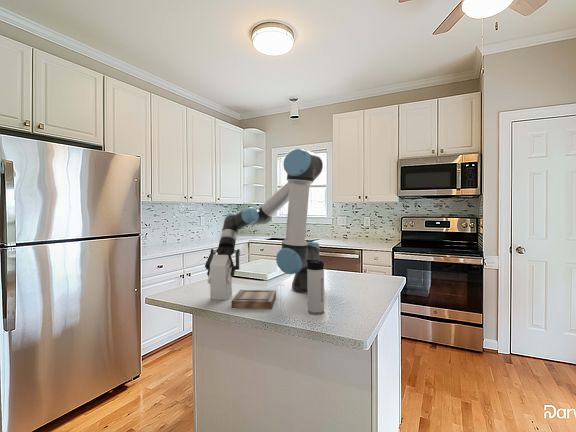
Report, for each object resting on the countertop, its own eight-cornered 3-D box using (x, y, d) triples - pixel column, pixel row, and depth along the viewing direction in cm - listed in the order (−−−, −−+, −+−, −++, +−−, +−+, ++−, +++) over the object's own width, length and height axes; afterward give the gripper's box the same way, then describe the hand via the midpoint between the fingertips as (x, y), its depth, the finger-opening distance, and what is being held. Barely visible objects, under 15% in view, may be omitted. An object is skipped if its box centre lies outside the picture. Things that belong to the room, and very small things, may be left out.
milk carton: (225, 300, 132) (225, 256, 131) (210, 299, 133) (209, 256, 133) (232, 295, 139) (231, 253, 138) (217, 295, 140) (216, 253, 139)
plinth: (275, 296, 136) (275, 289, 136) (271, 309, 120) (271, 300, 120) (240, 296, 137) (240, 289, 137) (231, 308, 121) (231, 300, 121)
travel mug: (305, 309, 119) (305, 258, 119) (322, 309, 120) (322, 258, 119) (307, 315, 113) (307, 261, 112) (325, 314, 114) (325, 261, 113)
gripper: (250, 245, 150) (243, 287, 134) (208, 245, 151) (197, 286, 136) (248, 235, 144) (241, 278, 129) (204, 236, 146) (192, 277, 130)
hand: (218, 282), depth 132 cm, fingers closed on milk carton, 8 cm apart
